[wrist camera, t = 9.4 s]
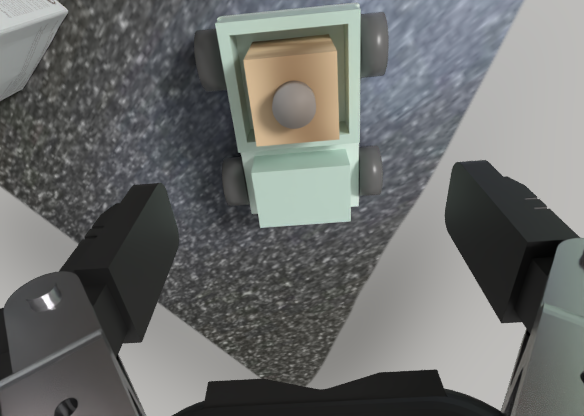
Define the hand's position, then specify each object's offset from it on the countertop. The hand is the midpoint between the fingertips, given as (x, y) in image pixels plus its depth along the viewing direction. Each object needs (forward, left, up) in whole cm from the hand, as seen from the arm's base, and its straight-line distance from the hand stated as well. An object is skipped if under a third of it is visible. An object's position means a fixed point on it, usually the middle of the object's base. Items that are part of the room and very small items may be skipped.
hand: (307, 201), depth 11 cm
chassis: (0, -4, -21) cm, 21 cm away
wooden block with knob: (0, -1, -18) cm, 18 cm away
